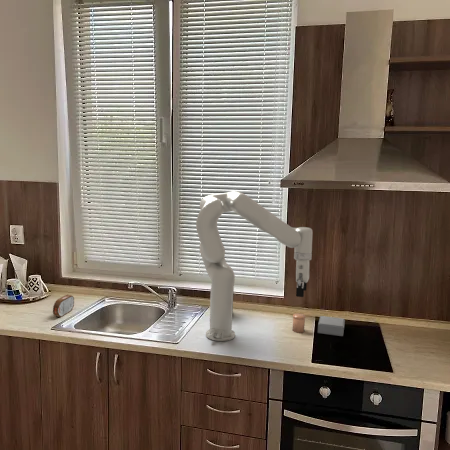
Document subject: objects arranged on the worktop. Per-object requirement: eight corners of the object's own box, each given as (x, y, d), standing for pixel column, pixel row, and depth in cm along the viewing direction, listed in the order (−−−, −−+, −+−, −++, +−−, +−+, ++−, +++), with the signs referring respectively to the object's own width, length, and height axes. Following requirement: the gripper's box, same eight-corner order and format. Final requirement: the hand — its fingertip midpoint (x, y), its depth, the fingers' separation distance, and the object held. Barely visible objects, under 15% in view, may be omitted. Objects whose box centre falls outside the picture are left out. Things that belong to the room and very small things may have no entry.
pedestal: (343, 336, 198) (343, 326, 197) (317, 332, 201) (318, 323, 200) (344, 327, 208) (344, 318, 208) (319, 324, 211) (320, 315, 211)
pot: (303, 333, 200) (304, 318, 198) (291, 332, 201) (292, 316, 200) (305, 329, 205) (306, 314, 204) (293, 327, 206) (293, 312, 205)
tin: (69, 308, 223) (69, 292, 221) (75, 309, 222) (75, 292, 221) (52, 319, 208) (51, 301, 207) (58, 319, 207) (58, 302, 206)
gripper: (309, 260, 188) (307, 300, 191) (313, 252, 205) (311, 288, 207) (291, 259, 191) (289, 298, 193) (296, 251, 207) (295, 287, 210)
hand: (301, 293), depth 200 cm, fingers open, 9 cm apart
